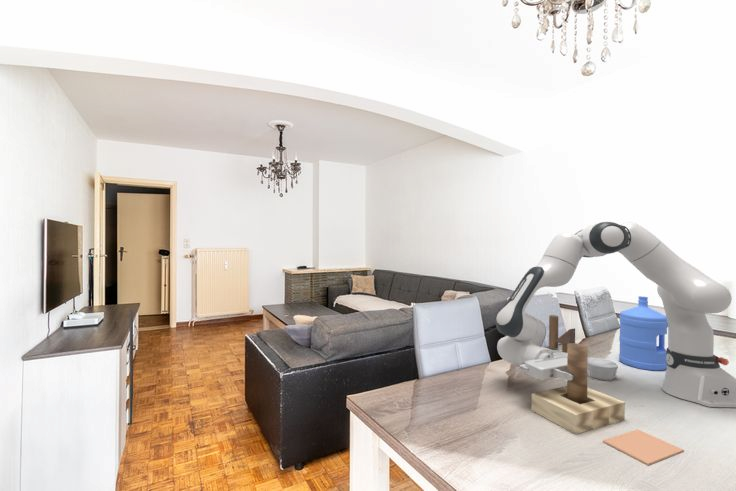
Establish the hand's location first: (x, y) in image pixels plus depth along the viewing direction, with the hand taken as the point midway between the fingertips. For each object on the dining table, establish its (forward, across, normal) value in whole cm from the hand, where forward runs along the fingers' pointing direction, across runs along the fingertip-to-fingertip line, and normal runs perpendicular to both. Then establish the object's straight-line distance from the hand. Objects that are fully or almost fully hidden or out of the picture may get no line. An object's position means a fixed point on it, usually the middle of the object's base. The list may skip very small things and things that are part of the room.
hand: (580, 376), depth 100 cm
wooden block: (-38, +41, +12) cm, 57 cm away
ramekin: (-19, +37, +12) cm, 43 cm away
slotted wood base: (-1, 0, +12) cm, 12 cm away
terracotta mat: (+16, 0, +12) cm, 20 cm away
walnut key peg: (-1, 0, +12) cm, 12 cm away
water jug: (-20, +66, +12) cm, 70 cm away
